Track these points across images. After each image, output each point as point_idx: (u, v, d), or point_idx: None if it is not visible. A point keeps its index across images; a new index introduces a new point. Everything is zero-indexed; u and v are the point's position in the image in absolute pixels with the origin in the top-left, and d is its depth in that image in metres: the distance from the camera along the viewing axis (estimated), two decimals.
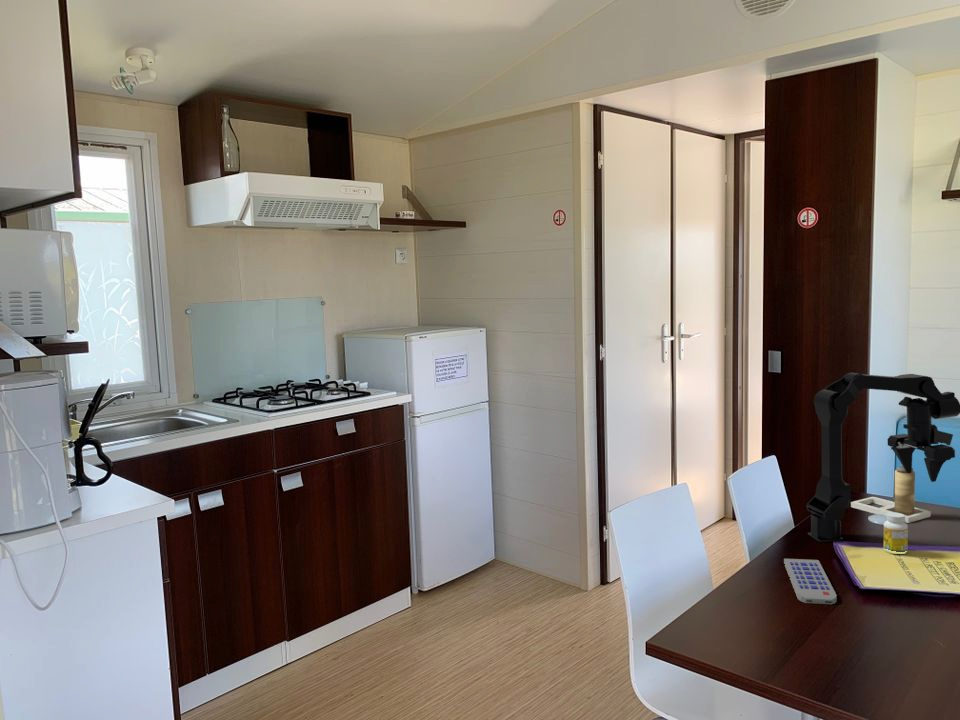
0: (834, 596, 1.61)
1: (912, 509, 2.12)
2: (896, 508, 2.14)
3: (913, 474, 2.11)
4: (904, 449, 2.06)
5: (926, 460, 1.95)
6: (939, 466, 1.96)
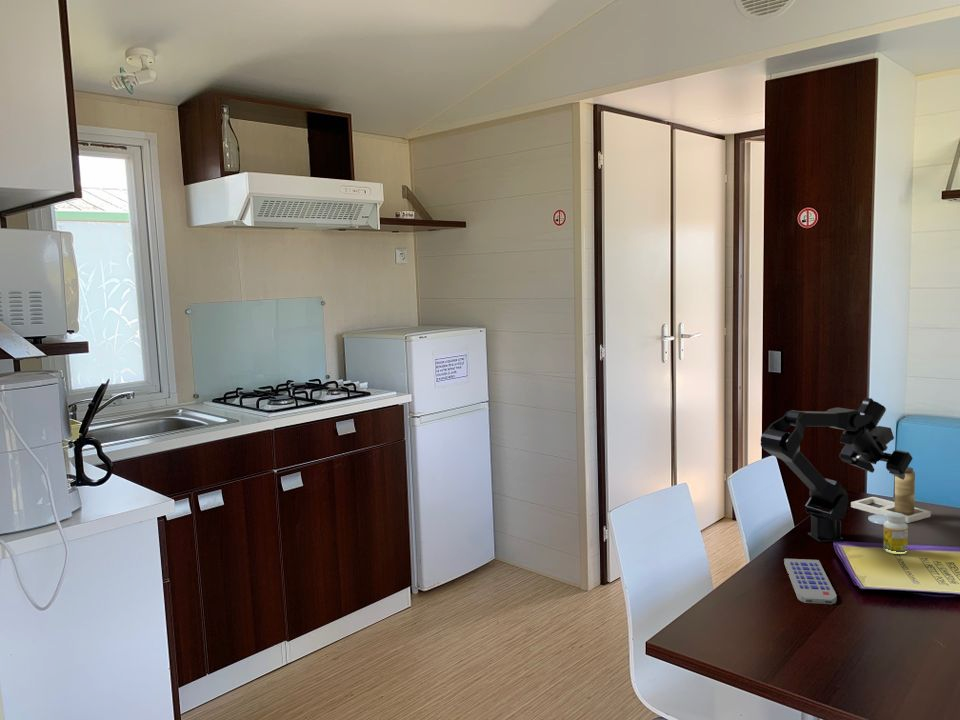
0: (834, 596, 1.61)
1: (912, 509, 2.12)
2: (896, 508, 2.14)
3: (913, 474, 2.11)
4: None
5: (892, 473, 2.01)
6: None
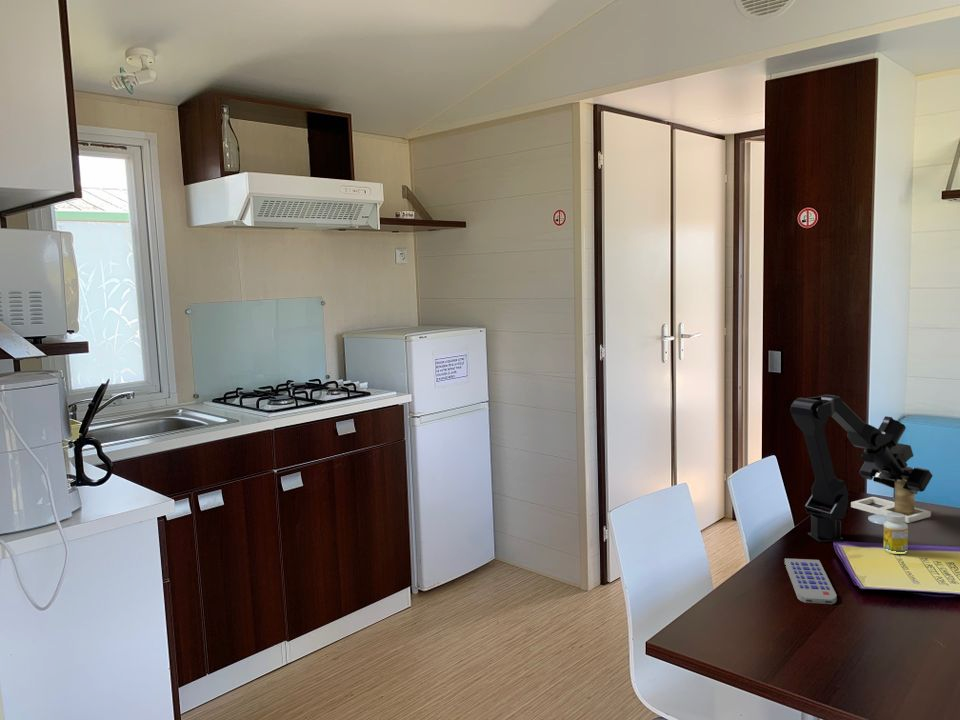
0: (834, 596, 1.62)
1: (912, 509, 2.12)
2: (896, 508, 2.14)
3: None
4: None
5: (906, 489, 2.07)
6: None
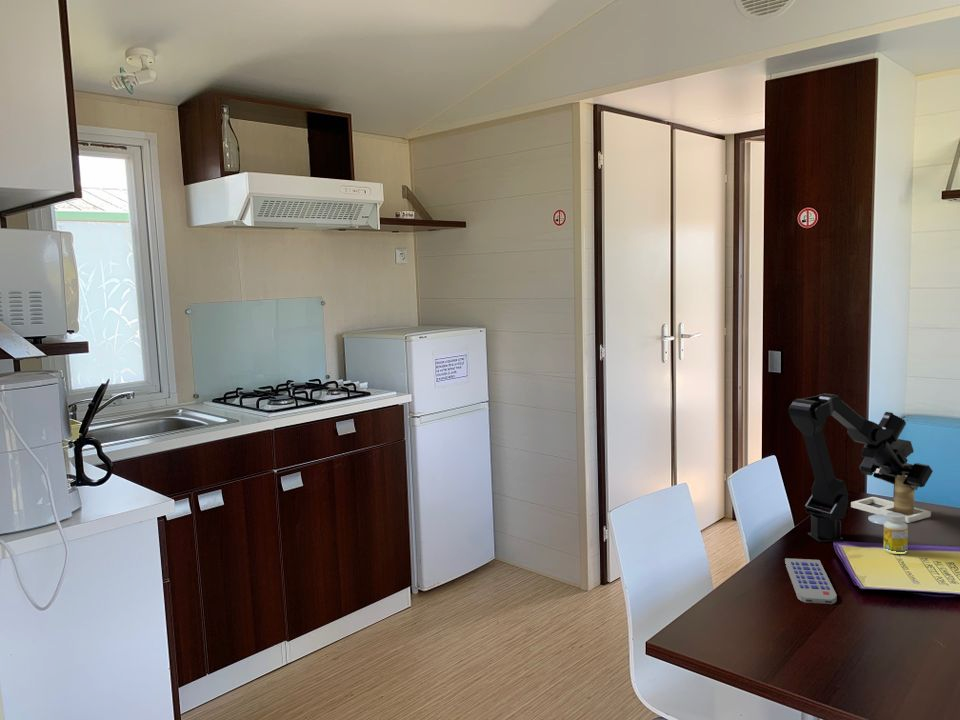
0: (834, 596, 1.62)
1: (911, 506, 2.12)
2: (895, 504, 2.14)
3: None
4: None
5: (906, 484, 2.07)
6: None
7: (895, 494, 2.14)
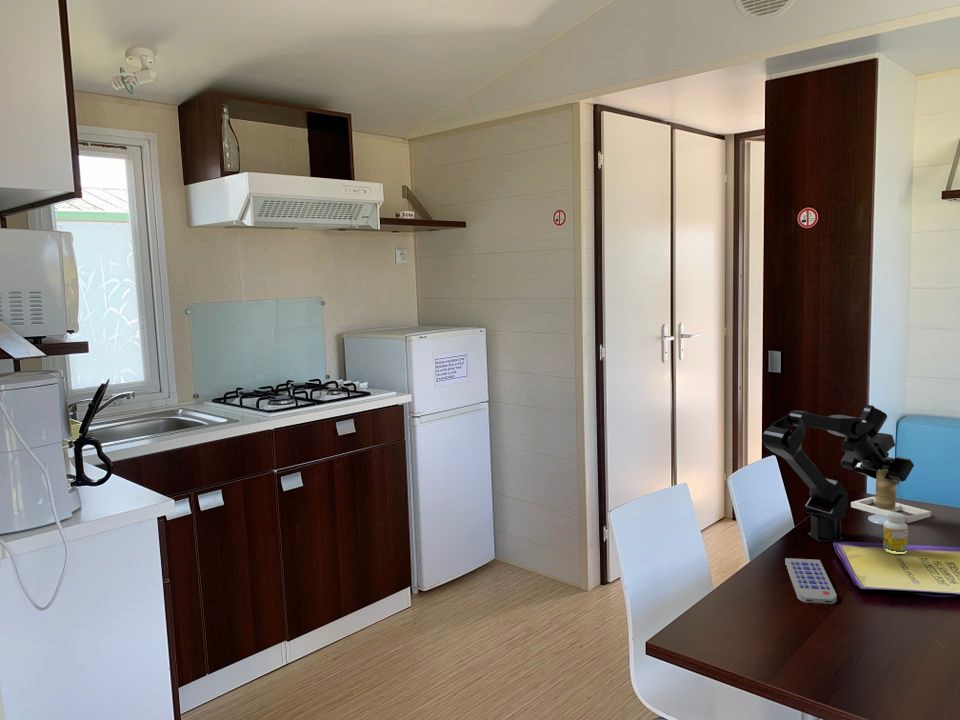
0: (834, 596, 1.62)
1: (893, 500, 2.08)
2: (877, 499, 2.10)
3: None
4: None
5: (887, 479, 2.03)
6: None
7: (877, 489, 2.10)
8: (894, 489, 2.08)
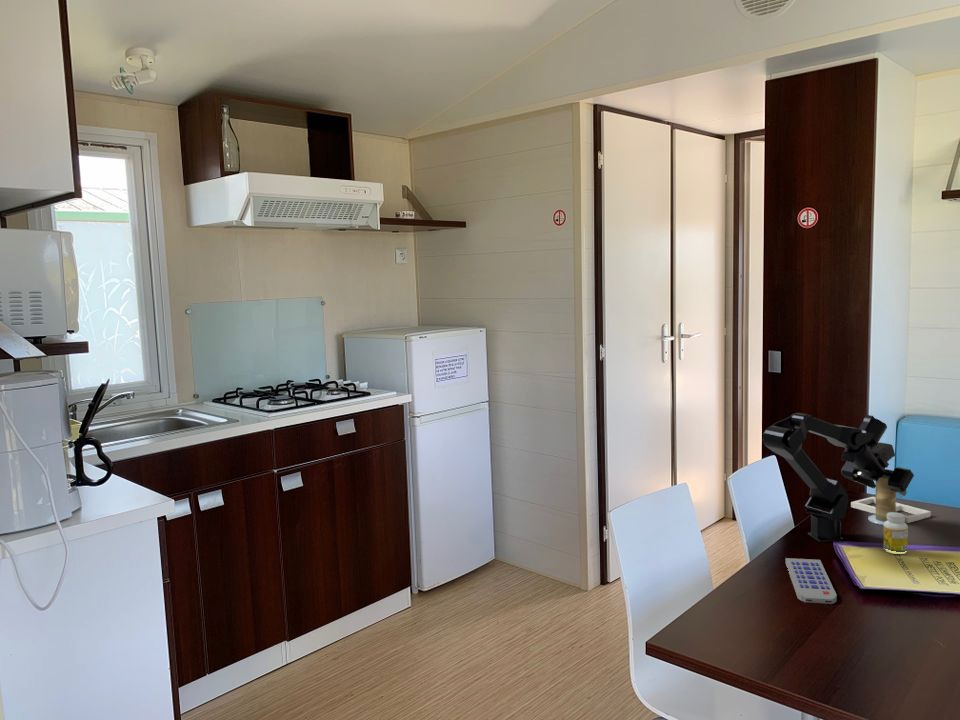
0: (834, 596, 1.62)
1: None
2: (877, 512, 2.10)
3: None
4: None
5: (894, 490, 2.02)
6: None
7: (876, 501, 2.10)
8: (894, 501, 2.08)
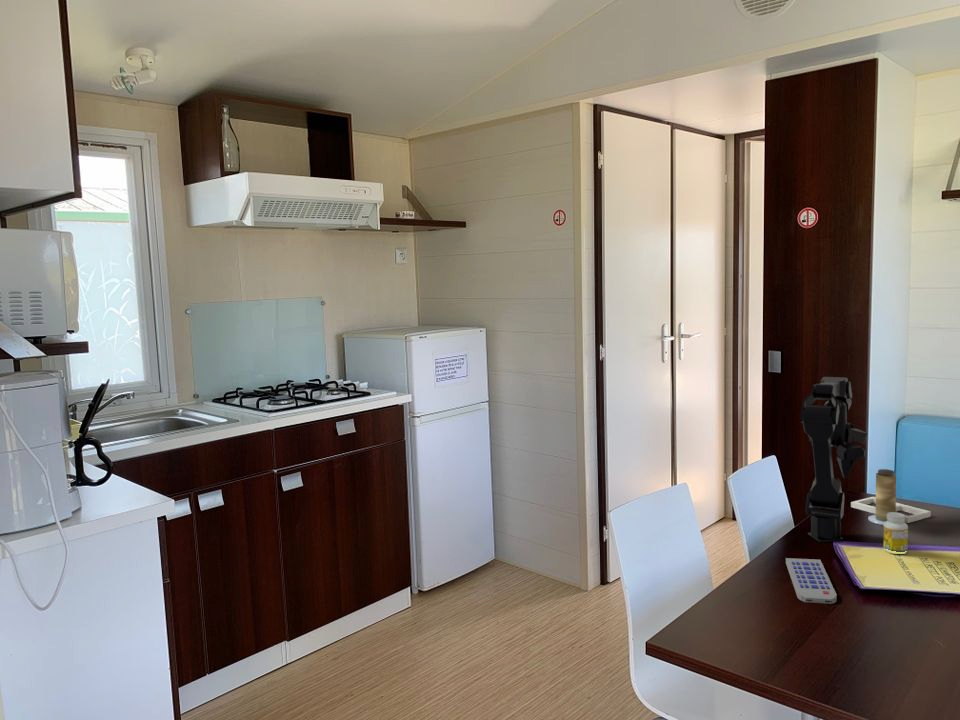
0: (834, 595, 1.62)
1: None
2: (877, 512, 2.10)
3: (894, 477, 2.07)
4: None
5: (838, 458, 2.06)
6: (851, 464, 2.07)
7: (876, 501, 2.10)
8: (894, 501, 2.08)
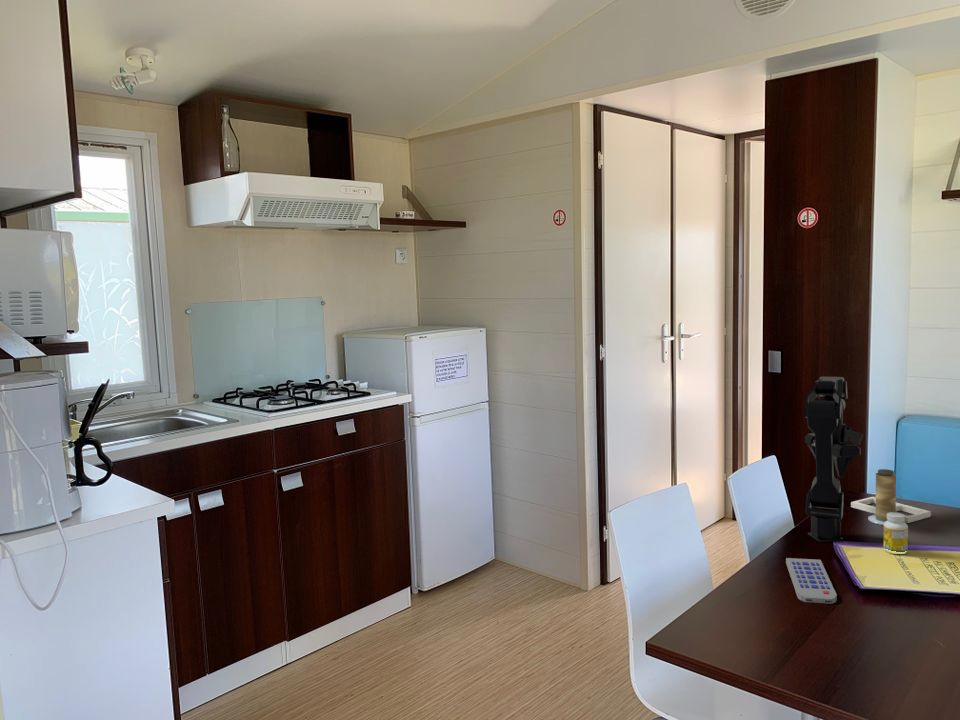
0: (834, 595, 1.62)
1: None
2: (877, 512, 2.10)
3: (894, 477, 2.07)
4: None
5: (834, 457, 2.08)
6: (846, 463, 2.08)
7: (876, 501, 2.10)
8: (894, 501, 2.08)
